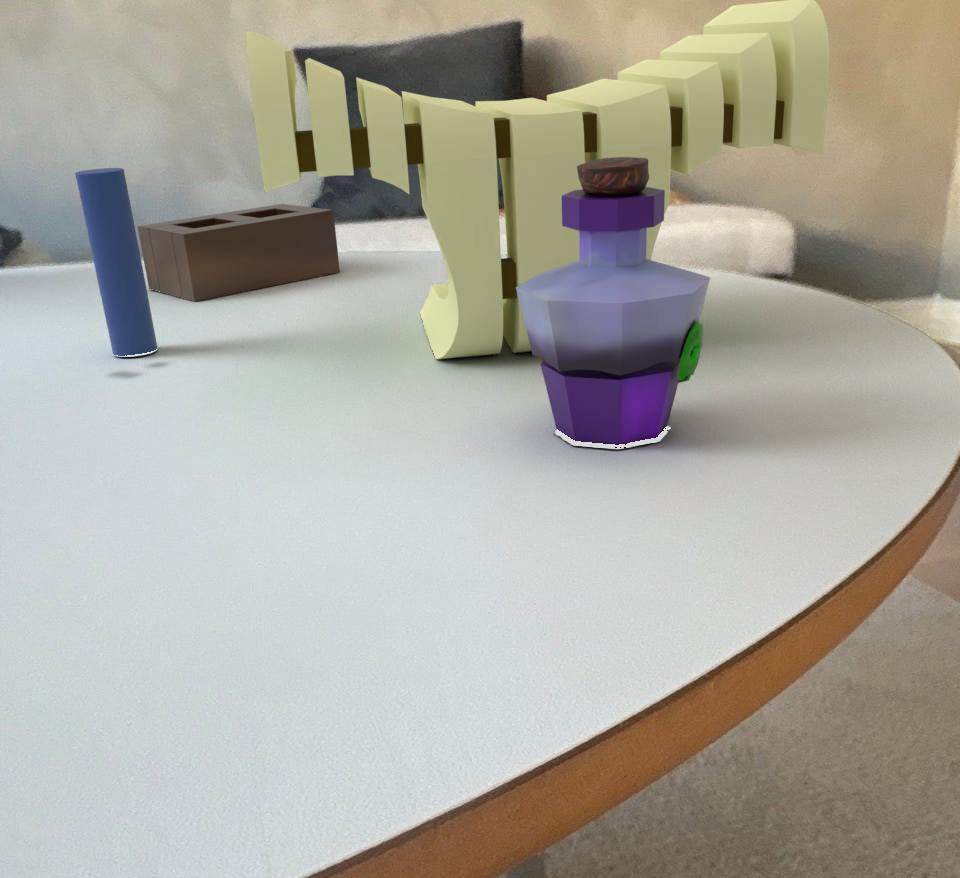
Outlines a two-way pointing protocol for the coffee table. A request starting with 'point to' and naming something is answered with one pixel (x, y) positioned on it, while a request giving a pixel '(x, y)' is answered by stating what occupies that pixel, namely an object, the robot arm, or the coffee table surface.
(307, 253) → the holder
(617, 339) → the potion bottle
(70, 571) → the coffee table surface
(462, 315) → the slatted curved stool
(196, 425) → the coffee table surface
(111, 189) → the handle
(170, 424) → the coffee table surface
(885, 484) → the coffee table surface
